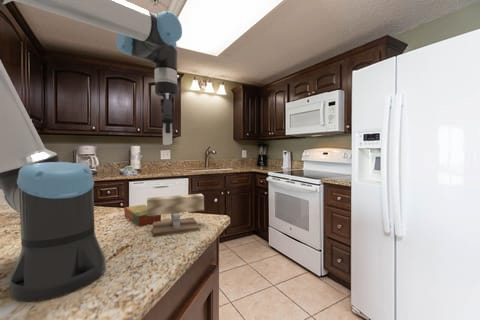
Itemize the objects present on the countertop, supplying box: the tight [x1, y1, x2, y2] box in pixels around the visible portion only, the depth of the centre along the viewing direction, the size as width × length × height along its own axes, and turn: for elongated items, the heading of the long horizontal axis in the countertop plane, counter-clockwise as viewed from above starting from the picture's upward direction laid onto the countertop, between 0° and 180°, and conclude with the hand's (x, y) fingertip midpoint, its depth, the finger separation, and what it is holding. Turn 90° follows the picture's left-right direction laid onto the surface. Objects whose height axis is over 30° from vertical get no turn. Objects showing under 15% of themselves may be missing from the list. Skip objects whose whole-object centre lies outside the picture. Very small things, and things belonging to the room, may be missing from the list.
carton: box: [123, 204, 162, 227], centre depth 87 cm, size 8×16×4 cm, turn 42°
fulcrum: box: [152, 213, 201, 237], centre depth 77 cm, size 12×14×5 cm
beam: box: [146, 193, 205, 216], centre depth 77 cm, size 18×4×5 cm, turn 111°
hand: (167, 144), depth 81 cm, fingers open, 13 cm apart
